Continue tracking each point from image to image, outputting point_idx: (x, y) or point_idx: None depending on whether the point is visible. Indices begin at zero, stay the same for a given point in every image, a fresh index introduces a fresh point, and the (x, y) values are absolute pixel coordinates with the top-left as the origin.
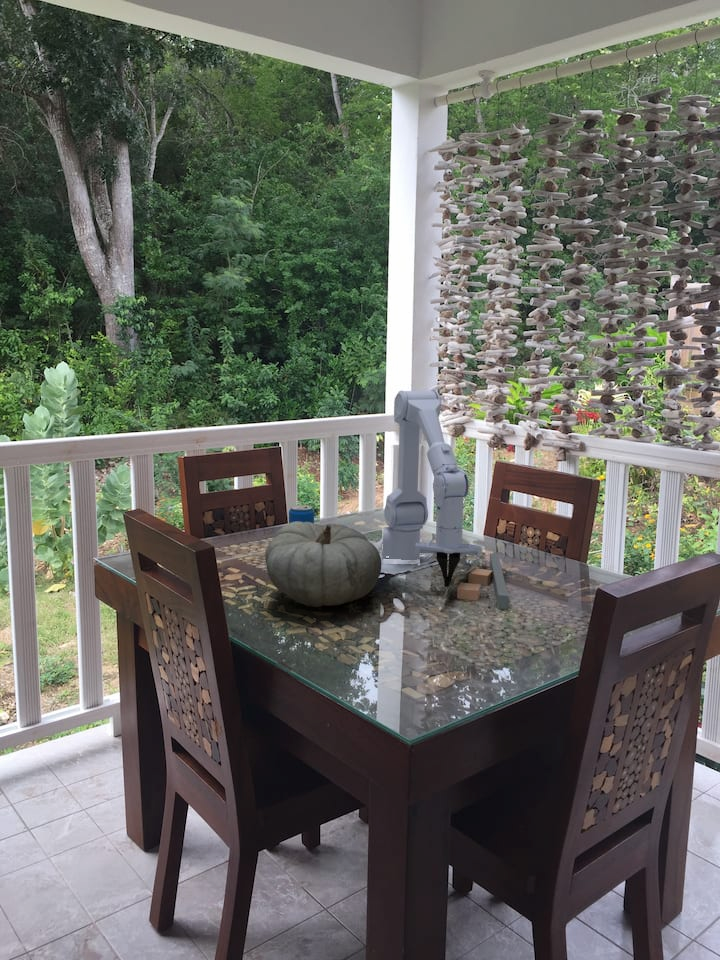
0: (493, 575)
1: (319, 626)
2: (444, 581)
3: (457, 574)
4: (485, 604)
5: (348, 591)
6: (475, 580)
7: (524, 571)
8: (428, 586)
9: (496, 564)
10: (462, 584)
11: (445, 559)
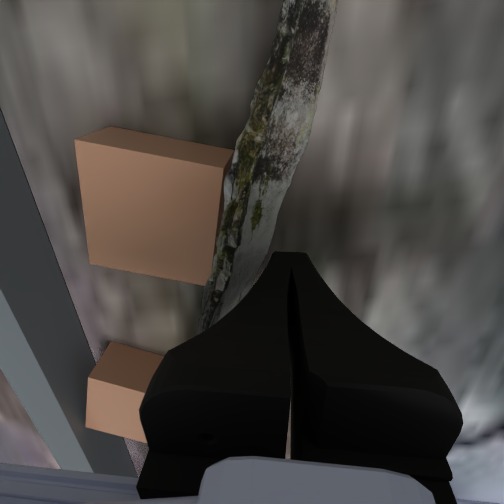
0: (67, 384)
1: None
2: (312, 264)
3: (212, 274)
4: (47, 48)
5: None
6: (156, 367)
7: (27, 448)
8: (376, 319)
9: (73, 464)
10: (195, 256)
11: (341, 380)
